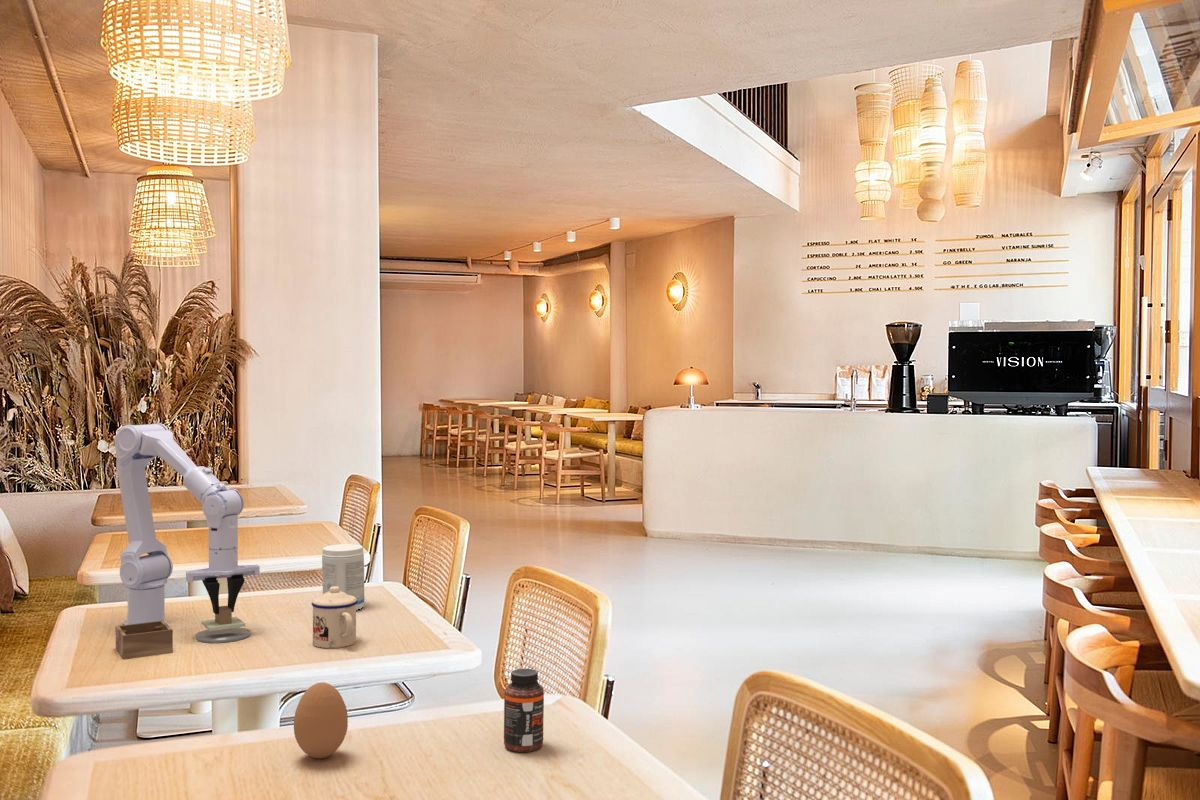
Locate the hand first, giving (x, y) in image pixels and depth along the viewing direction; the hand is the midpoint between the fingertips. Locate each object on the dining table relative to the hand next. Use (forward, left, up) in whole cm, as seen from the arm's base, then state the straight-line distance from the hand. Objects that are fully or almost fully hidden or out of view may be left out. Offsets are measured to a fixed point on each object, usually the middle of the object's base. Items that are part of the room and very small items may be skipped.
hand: (223, 612), depth 216 cm
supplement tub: (-11, +30, -5) cm, 32 cm away
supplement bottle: (+89, +22, -5) cm, 92 cm away
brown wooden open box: (+3, -16, -5) cm, 17 cm away
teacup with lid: (+19, +18, -5) cm, 27 cm away
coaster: (0, 0, -5) cm, 5 cm away
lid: (0, 0, -3) cm, 3 cm away
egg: (+77, -5, -5) cm, 77 cm away
